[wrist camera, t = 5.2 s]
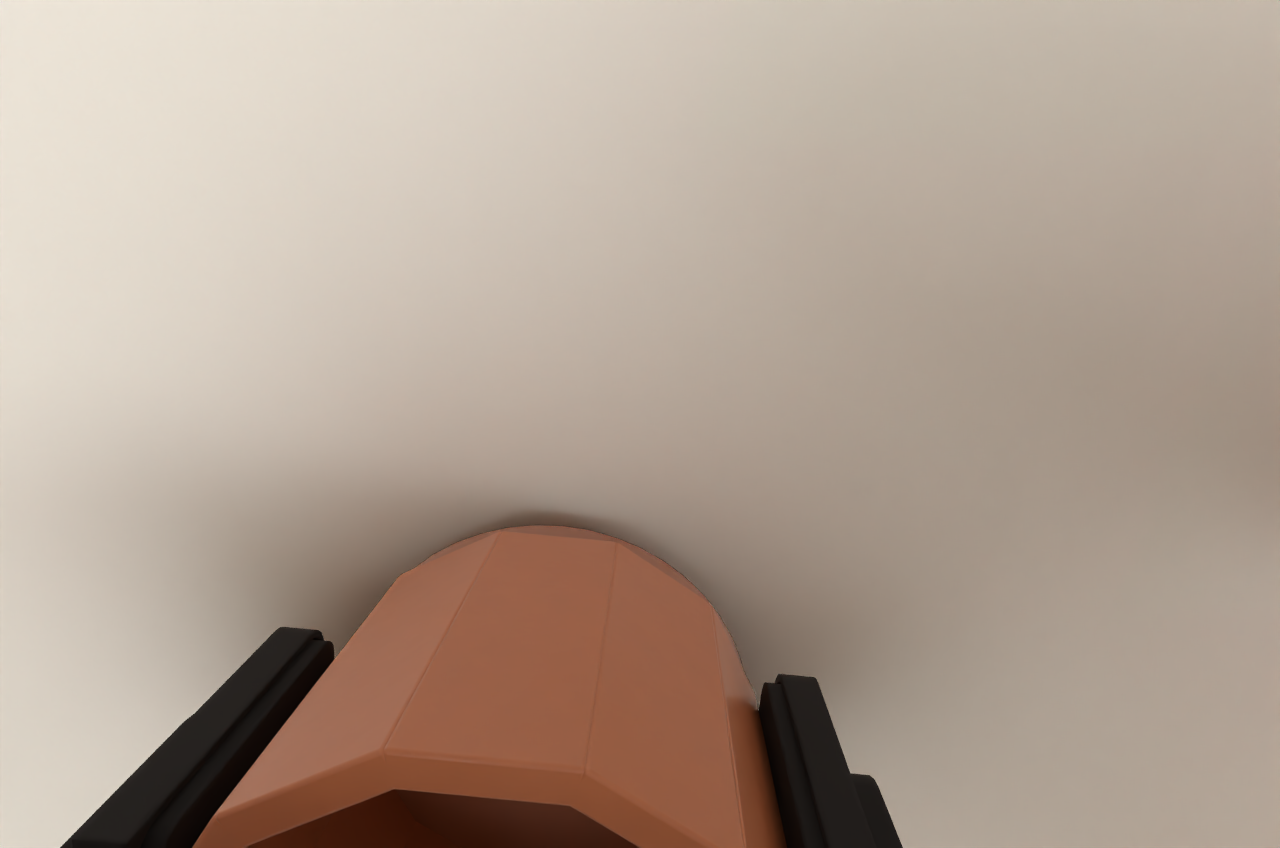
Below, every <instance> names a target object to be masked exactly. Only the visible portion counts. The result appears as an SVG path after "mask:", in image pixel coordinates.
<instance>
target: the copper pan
mask: <svg viewBox="0 0 1280 848" xmlns="http://www.w3.org/2000/svg"><path fill="white" fill-rule="evenodd" d="M192 848H787V845H786V840H785V835H784V831H783V826H782V821H781V816H780V811H779V807H778V802H777V797H776V792H775V787H774V783H773V778H772V773H771V768H770V763H769V759H768V754H767V749H766V744H765V739H764V735H763V730H762V725H761V720H760V715H759V711H758V706H757V701H756V696H755V693H754V691H753V689H752V687H751V685H750V682H749V680H748V678H747V676H746V674H745V672H744V670H743V667H742V663H741V659H740V656H739V654H738V651H737V649H736V646H735V644H734V641H733V639H732V636H731V635H730V633H729V631H728V629H727V628H726V626H725V624H724V622H723V621H722V619H721V617H720V616H719V614H718V613H717V612H716V610H715V609H714V608H713V606H712V605H711V604H710V603H709V601H708V600H707V599H706V597H705V596H704V595H703V594H702V593H701V592H700V591H699V590H698V589H697V588H696V587H695V586H694V585H693V584H692V583H691V582H690V581H689V580H688V579H687V578H686V577H684V576H683V575H682V574H680V573H679V572H678V571H676V570H675V569H674V568H672V567H671V566H670V565H668V564H667V563H666V562H664V561H663V560H661V559H659V558H657V557H656V556H654V555H652V554H650V553H649V552H647V551H645V550H643V549H642V548H639V547H637V546H635V545H632V544H630V543H628V542H625V541H623V540H620V539H618V538H615V537H612V536H608V535H605V534H601V533H598V532H594V531H591V530H585V529H579V528H572V527H566V526H546V525H531V526H520V527H509V528H504V529H499V530H495V531H490V532H486V533H481V534H479V535H476V536H473V537H470V538H467V539H465V540H462V541H459V542H456V543H454V544H453V545H451V546H449V547H447V548H445V549H443V550H441V551H439V552H437V553H435V554H433V555H432V556H431V557H429V558H428V559H426V560H425V561H423V562H422V563H421V564H419V565H418V566H416V567H415V568H414V569H412V570H410V571H407V572H405V573H403V574H401V576H399V577H398V578H397V579H396V580H395V582H394V583H393V584H392V586H391V587H390V588H389V589H388V591H387V592H386V593H385V595H384V596H383V597H382V598H381V600H380V601H379V602H378V604H377V605H376V606H375V607H374V609H373V610H372V611H371V613H370V614H369V615H368V617H367V618H366V619H365V620H364V622H363V623H362V624H361V626H360V627H359V628H358V629H357V631H356V632H355V633H354V635H353V636H352V637H351V638H350V640H349V641H348V642H347V644H346V645H345V646H344V648H343V649H342V650H341V651H340V653H339V654H338V655H337V657H336V658H335V659H334V660H333V662H332V663H331V664H330V666H329V667H328V668H327V669H326V671H325V672H324V673H323V675H322V676H321V677H320V679H319V680H318V681H317V682H316V684H315V685H314V686H313V688H312V689H311V690H310V691H309V693H308V694H307V695H306V697H305V698H304V699H303V700H302V702H301V703H300V704H299V706H298V707H297V708H296V710H295V711H294V712H293V713H292V715H291V716H290V717H289V719H288V720H287V721H286V722H285V724H284V725H283V726H282V728H281V729H280V730H279V731H278V733H277V734H276V735H275V737H274V738H273V739H272V741H271V742H270V743H269V744H268V746H267V747H266V748H265V750H264V751H263V752H262V753H261V755H260V756H259V757H258V759H257V760H256V761H255V762H254V764H253V765H252V766H251V768H250V769H249V770H248V772H247V773H246V774H245V775H244V777H243V778H242V779H241V781H240V782H239V783H238V784H237V786H236V787H235V788H234V790H233V791H232V792H231V793H230V795H229V796H228V797H227V799H226V800H225V801H224V803H223V804H222V805H221V806H220V808H219V809H218V810H217V812H216V813H215V814H214V815H213V817H212V818H211V820H210V821H209V823H208V824H207V826H206V827H205V829H204V830H203V832H202V833H201V835H200V836H199V838H198V839H197V841H196V842H195V844H194V845H193V847H192Z"/></svg>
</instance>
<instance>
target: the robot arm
mask: <svg viewBox="0 0 1280 848" xmlns="http://www.w3.org/2000/svg"><path fill="white" fill-rule="evenodd" d="M333 660H334V647H333V644H332V642H330V641H324V638H323V635H322V632H320V631H319V630H311V629H300V628H290V627H280V628H279V629H277V630H276V631H275V632H274V633H273V634H272V635H271V636H270V637H269V638H268V639H267V640H266V641H265V642H264V643H263V644H262V645H261V646H260V647H259V648H258V649H257V650H256V651H255V652H254V653H253V654H252V655H251V656H250V657H249V658H248V659H247V660H246V662H245V663H244V664H243V665H242V666H241V667H240V668H239V669H238V670H237V671H236V672H235V673H234V674H233V675H232V676H231V677H230V678H229V679H228V680H227V681H226V682H225V683H224V684H223V685H222V686H221V687H220V688H219V689H218V690H217V691H216V692H215V693H214V694H213V695H212V696H211V697H210V698H209V699H208V700H207V701H206V702H205V703H204V704H203V705H202V706H201V708H200V709H199V710H198V711H197V712H196V713H195V714H193V715H192V716H191V717H189V718H188V719H187V720H186V721H184V722H183V723H182V724H181V725H180V726H179V727H178V728H177V729H176V730H175V731H174V733H173V734H172V735H171V736H170V737H169V738H168V739H167V740H166V741H165V742H164V743H163V744H162V745H161V746H160V747H159V748H158V749H157V750H156V751H155V752H154V753H153V754H152V755H151V756H150V757H149V758H148V759H147V760H146V761H145V762H144V763H143V764H142V765H141V766H140V767H139V768H138V769H137V770H136V771H135V772H134V773H133V774H132V775H131V776H130V777H129V778H128V779H127V780H126V781H125V782H124V783H123V784H122V785H121V786H120V787H119V788H118V789H117V790H116V791H115V793H114V794H113V795H112V796H111V797H110V798H109V799H108V800H107V801H106V802H105V803H104V804H103V805H102V806H101V807H100V808H99V809H98V810H97V811H96V812H95V813H94V814H93V815H92V816H91V817H90V818H89V819H88V820H87V821H86V822H85V823H84V824H83V825H82V826H81V827H80V828H79V829H78V830H77V831H76V832H75V833H74V834H73V835H72V836H71V837H70V838H69V839H68V840H67V841H66V842H65V843H64V844H63V845H62V846H61V847H60V848H192V847H193V845H194V844H195V842H196V841H197V839H198V838H199V836H200V835H201V833H202V832H203V830H204V829H205V827H206V826H207V824H208V823H209V821H210V820H211V818H212V817H213V815H214V814H215V813H216V812H217V810H218V809H219V808H220V806H221V805H222V804H223V803H224V801H225V800H226V799H227V797H228V796H229V795H230V793H231V792H232V791H233V790H234V788H235V787H236V786H237V784H238V783H239V782H240V781H241V779H242V778H243V777H244V775H245V774H246V773H247V772H248V770H249V769H250V768H251V766H252V765H253V764H254V762H255V761H256V760H257V759H258V757H259V756H260V755H261V753H262V752H263V751H264V750H265V748H266V747H267V746H268V744H269V743H270V742H271V741H272V739H273V738H274V737H275V735H276V734H277V733H278V731H279V730H280V729H281V728H282V726H283V725H284V724H285V722H286V721H287V720H288V719H289V717H290V716H291V715H292V713H293V712H294V711H295V710H296V708H297V707H298V706H299V704H300V703H301V702H302V700H303V699H304V698H305V697H306V695H307V694H308V693H309V691H310V690H311V689H312V688H313V686H314V685H315V684H316V682H317V681H318V680H319V679H320V677H321V676H322V675H323V673H324V672H325V671H326V669H327V668H328V667H329V666H330V664H331V663H332V662H333ZM759 715H760V720H761V725H762V730H763V735H764V739H765V744H766V749H767V754H768V759H769V763H770V768H771V773H772V778H773V783H774V787H775V792H776V797H777V802H778V807H779V811H780V816H781V821H782V826H783V831H784V835H785V840H786V845H787V848H903V847H902V845H901V842H900V840H899V837H898V835H897V832H896V830H895V827H894V825H893V822H892V820H891V817H890V815H889V812H888V810H887V807H886V805H885V802H884V800H883V797H882V795H881V792H880V790H879V787H878V785H877V783H876V782H875V780H874V779H873V778H872V777H871V776H870V775H860V774H850V771H849V769H848V766H847V763H846V760H845V757H844V754H843V752H842V749H841V746H840V743H839V740H838V738H837V735H836V732H835V729H834V726H833V723H832V721H831V718H830V715H829V712H828V709H827V707H826V704H825V701H824V698H823V695H822V692H821V690H820V687H819V684H818V682H817V680H816V678H814V677H806V676H795V675H785V674H779V675H777V678H776V680H775V683H764V685H763V688H762V693H761V699H760V706H759Z"/></svg>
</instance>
